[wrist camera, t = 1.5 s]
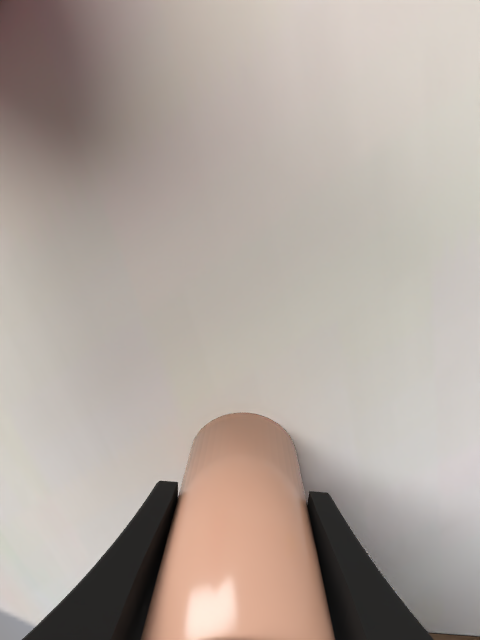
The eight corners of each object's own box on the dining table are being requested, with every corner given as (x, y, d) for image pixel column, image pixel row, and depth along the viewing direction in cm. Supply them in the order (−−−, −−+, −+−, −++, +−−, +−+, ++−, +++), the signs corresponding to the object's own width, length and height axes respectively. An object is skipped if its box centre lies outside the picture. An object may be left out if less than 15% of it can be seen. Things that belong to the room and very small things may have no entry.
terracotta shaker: (305, 414, 12) (398, 722, 5) (292, 507, 14) (349, 868, 6) (188, 406, 12) (88, 699, 5) (187, 499, 14) (107, 846, 6)
